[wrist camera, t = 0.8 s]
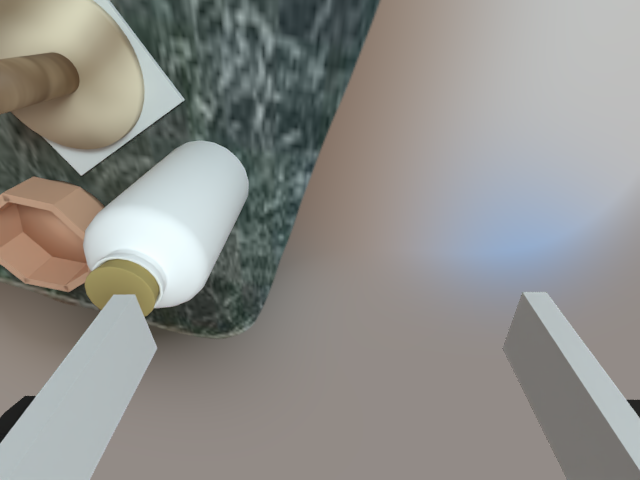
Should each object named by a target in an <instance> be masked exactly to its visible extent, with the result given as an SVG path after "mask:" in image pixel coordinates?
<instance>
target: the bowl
mask: <svg viewBox="0 0 640 480" xmlns="http://www.w3.org/2000/svg"><path fill="white" fill-rule="evenodd" d="M103 208H105V206H104V205H103V204H102V203H101V202H100V201H99V200H98V199H97V198H96V197H94V196H93V195H92V194H90V193H89V192H87V191H86V190H84V189H82V188H81V187H78V186H76V185H74V184H71V183H68V182H64V181H58V180H47V179H43V178H38V177H32V178H30V179H28V180H26V181H24V182H22V183H20V184H19V185H17V186H15V187H13V188H11V189H9V190H7V191H5V192H4V193H2V194H1V195H0V264H1V265H2V266H4V267H5V268H6V269H8V270H9V271H10V272H11V273H13V274H14V275H15V276H16V277H18V278H19V279H20V280H22V281H23V282H24V283H26V284H31V285H36V286H41V287H46V288H51V289H56V290H61V291H66V292H70V291H71V290H73V289H75V288H76V287H78V286H80V285H81V284H83V283H85V281H86V277H87V276H88V275H89V274H90V272H91V270H90V269H89V267H88V265H87V261H86V257H85V253H84V249H83V241H84V236H85V230H86V229H87V227H88V226H89V224H90V223H91V222H92V220H93V219H94V218H95V216H96V215H97V213H99V212H100V211H101V210H102V209H103Z"/></svg>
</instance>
